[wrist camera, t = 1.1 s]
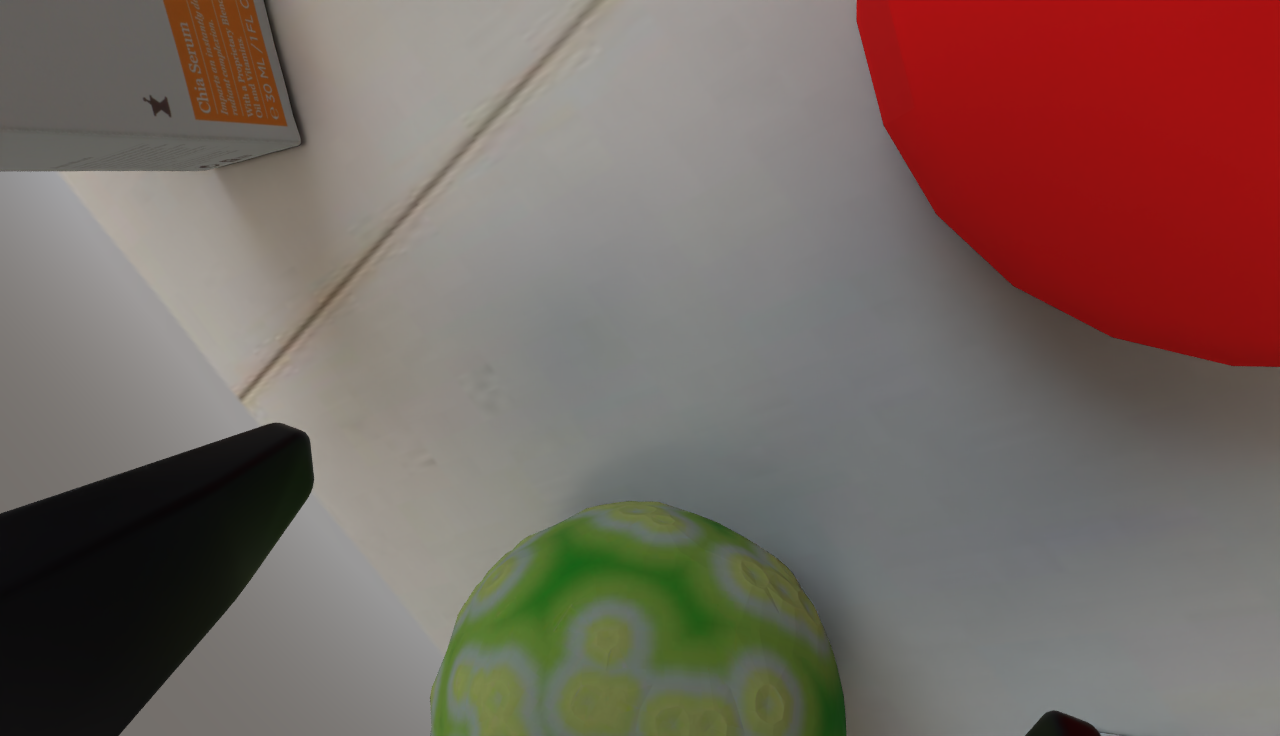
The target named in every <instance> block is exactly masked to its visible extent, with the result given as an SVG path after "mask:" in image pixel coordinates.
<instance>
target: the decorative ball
mask: <svg viewBox="0 0 1280 736" xmlns="http://www.w3.org/2000/svg"><path fill="white" fill-rule="evenodd" d="M430 702H431V724H432V725H431V726H432V727H431V735H430V736H846V717H845V705H844V696H843V691H842V686H841V682H840V677H839V673H838V668H837V664H836V661H835V657H834V654H833V651H832V648H831V645H830V642H829V640H828V638H827V635H826V633H825V630H824V628H823V625H822V623H821V621H820V619H819V616H818V614H817V611H816V609H815V608H814V606H813V604H812V603H811V601H810V600H809V599H808V597H807V596H806V595H805V593H804V592H803V590H802V589H801V587H800V585H799V583H798V582H797V580H796V578H795V577H794V575H793V574H792V573H791V571H790V570H789V569H788V568H787V567H786V566H785V565H784V564H783V563H782V562H781V561H779V560H778V559H777V558H775V557H774V556H773V555H771V554H770V553H768V552H767V551H765V550H764V549H762V548H760V547H759V546H757V545H756V544H754V543H753V542H751V541H750V540H748V539H746V538H745V537H743V536H741V535H739V534H737V533H736V532H734V531H732V530H730V529H728V528H726V527H725V526H723V525H721V524H719V523H717V522H714V521H712V520H709V519H707V518H704V517H702V516H699V515H697V514H694V513H691V512H688V511H684V510H681V509H678V508H675V507H672V506H669V505H666V504H663V503H660V502H636V501H627V502H618V503H611V504H605V505H599V506H595V507H591V508H587V509H585V510H583V511H581V512H579V513H577V514H576V515H574V516H572V517H570V518H568V519H566V520H564V521H563V522H561V523H559V524H557V525H554V526H552V527H550V528H547V529H545V530H543V531H540V532H538V533H535V534H533V535H531V536H528V537H527V538H525V539H524V540H522V541H521V542H520V543H519V544H518V545H517V546H516V547H515V548H514V549H513V550H512V551H510V552H508V553H507V554H505V555H504V556H503V557H502V558H501V559H500V560H499V561H498V562H497V563H496V564H495V565H494V566H493V567H492V568H491V569H490V570H489V571H488V573H487V574H486V576H485V577H484V578H483V580H482V581H481V582H480V583H479V584H478V585H477V586H476V588H475V589H474V590H473V592H472V593H471V595H470V596H469V598H468V600H467V602H466V603H465V604H464V606H463V607H462V609H461V611H460V612H459V614H458V617H457V620H456V623H455V626H454V630H453V633H452V636H451V640H450V643H449V646H448V649H447V652H446V655H445V657H444V659H443V662H442V664H441V667H440V669H439V672H438V674H437V677H436V679H435V682H434V684H433V686H432V690H431V696H430Z"/></svg>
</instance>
